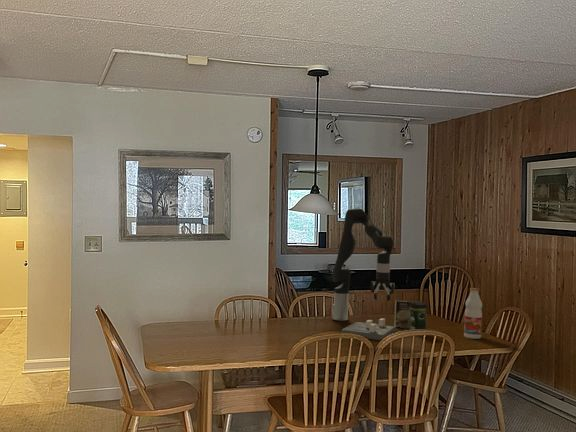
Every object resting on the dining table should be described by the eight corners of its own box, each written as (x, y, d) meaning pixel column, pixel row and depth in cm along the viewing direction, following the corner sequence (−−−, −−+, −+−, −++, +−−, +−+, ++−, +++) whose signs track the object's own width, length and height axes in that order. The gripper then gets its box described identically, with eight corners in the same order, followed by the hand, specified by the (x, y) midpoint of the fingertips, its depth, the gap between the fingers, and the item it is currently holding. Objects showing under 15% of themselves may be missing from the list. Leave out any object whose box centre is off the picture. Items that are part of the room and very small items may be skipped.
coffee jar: (419, 331, 338) (420, 300, 338) (428, 334, 331) (429, 302, 330) (406, 332, 334) (407, 300, 333) (414, 335, 327) (415, 302, 326)
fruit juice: (481, 336, 329) (483, 288, 329) (480, 339, 320) (482, 290, 320) (464, 334, 333) (466, 286, 332) (463, 337, 324) (465, 288, 323)
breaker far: (378, 326, 331) (378, 319, 331) (381, 324, 336) (381, 318, 336) (382, 326, 330) (382, 320, 330) (385, 325, 335) (385, 318, 335)
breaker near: (369, 331, 315) (369, 324, 315) (372, 330, 320) (372, 323, 320) (373, 332, 314) (373, 325, 314) (376, 330, 319) (376, 323, 319)
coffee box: (394, 327, 345) (395, 301, 345) (393, 325, 352) (394, 299, 352) (410, 328, 345) (411, 302, 344) (409, 326, 351) (410, 300, 351)
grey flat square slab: (341, 334, 321) (341, 329, 321) (356, 326, 344) (356, 321, 344) (382, 340, 310) (382, 334, 310) (395, 331, 334) (395, 326, 334)
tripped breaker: (365, 327, 325) (365, 321, 325) (368, 326, 330) (368, 319, 330) (369, 328, 324) (369, 321, 324) (372, 326, 329) (372, 320, 329)
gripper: (368, 270, 323) (367, 300, 324) (393, 272, 317) (392, 302, 317) (372, 269, 330) (371, 298, 330) (397, 271, 324) (396, 300, 324)
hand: (382, 300), depth 324 cm, fingers open, 6 cm apart
